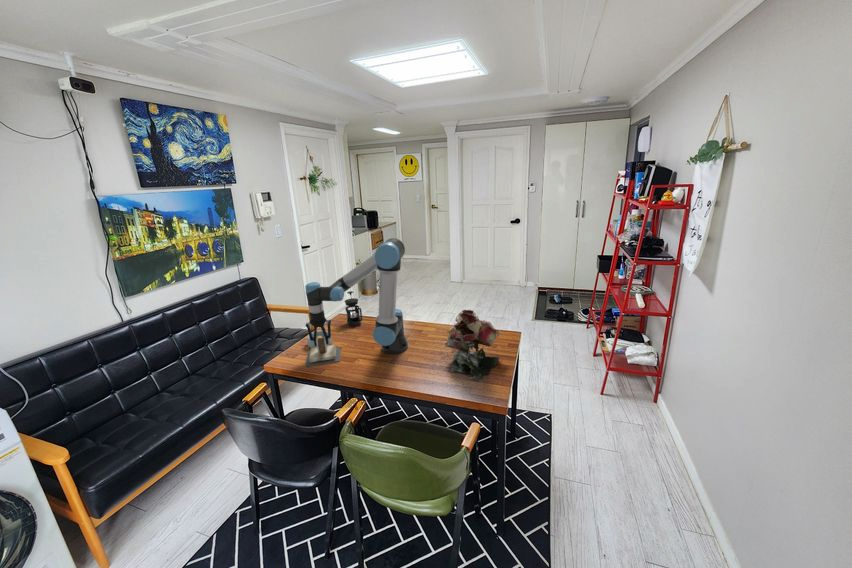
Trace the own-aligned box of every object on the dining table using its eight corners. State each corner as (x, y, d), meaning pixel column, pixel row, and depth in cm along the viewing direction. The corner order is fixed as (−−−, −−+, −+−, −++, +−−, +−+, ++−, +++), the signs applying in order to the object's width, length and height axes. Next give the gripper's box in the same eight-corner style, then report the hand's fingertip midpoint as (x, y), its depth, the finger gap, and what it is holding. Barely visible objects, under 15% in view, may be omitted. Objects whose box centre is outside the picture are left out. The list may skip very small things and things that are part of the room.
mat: (340, 348, 207) (340, 347, 207) (339, 361, 192) (339, 360, 192) (308, 352, 204) (308, 351, 204) (305, 366, 189) (305, 365, 189)
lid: (336, 346, 205) (334, 331, 202) (335, 358, 192) (333, 342, 189) (311, 350, 203) (309, 335, 200) (309, 362, 190) (306, 346, 187)
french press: (343, 325, 238) (339, 293, 231) (351, 320, 246) (347, 289, 239) (358, 327, 233) (354, 294, 226) (366, 322, 242) (362, 290, 235)
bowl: (331, 338, 221) (330, 329, 219) (330, 347, 209) (329, 338, 207) (310, 341, 218) (308, 332, 216) (308, 350, 206) (306, 341, 204)
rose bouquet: (502, 355, 189) (503, 303, 180) (483, 384, 166) (482, 325, 156) (459, 346, 202) (457, 296, 193) (434, 371, 178) (432, 316, 169)
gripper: (332, 306, 195) (338, 345, 202) (301, 310, 192) (307, 349, 199) (332, 311, 188) (337, 351, 195) (299, 315, 185) (306, 355, 192)
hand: (322, 350), depth 197 cm, fingers closed on lid, 4 cm apart
